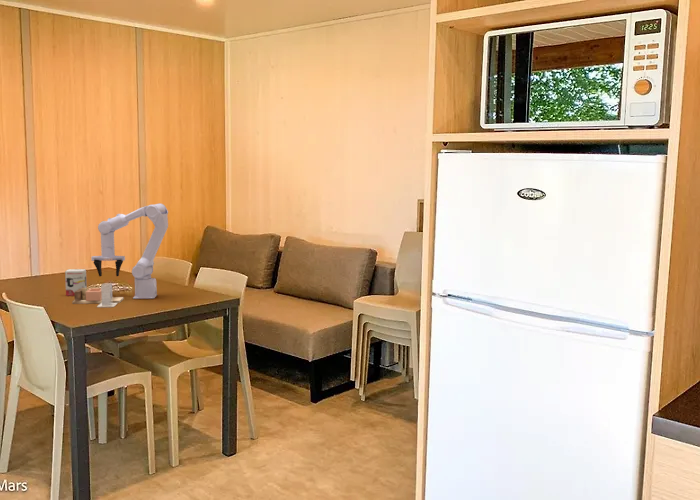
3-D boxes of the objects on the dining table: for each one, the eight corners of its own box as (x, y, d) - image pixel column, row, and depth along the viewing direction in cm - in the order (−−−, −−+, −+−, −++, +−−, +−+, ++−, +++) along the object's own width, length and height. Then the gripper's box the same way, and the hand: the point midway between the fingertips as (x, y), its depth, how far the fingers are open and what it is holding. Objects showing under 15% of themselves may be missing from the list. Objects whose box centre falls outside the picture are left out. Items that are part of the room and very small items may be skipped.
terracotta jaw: (104, 296, 298) (104, 288, 297) (100, 300, 290) (99, 291, 290) (90, 297, 297) (90, 288, 297) (85, 300, 289) (85, 291, 289)
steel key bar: (112, 303, 288) (111, 283, 287) (110, 305, 284) (109, 284, 283) (104, 303, 287) (103, 283, 286) (102, 305, 284) (101, 285, 283)
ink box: (65, 296, 305) (64, 271, 303) (67, 294, 310) (66, 269, 308) (85, 295, 307) (84, 270, 305) (87, 293, 311) (86, 268, 310)
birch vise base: (123, 299, 299) (123, 286, 298) (119, 302, 291) (119, 289, 290) (77, 299, 297) (77, 286, 296) (72, 303, 289) (71, 290, 288)
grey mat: (117, 303, 290) (117, 302, 290) (113, 307, 283) (113, 306, 283) (101, 303, 289) (101, 303, 289) (96, 307, 282) (96, 306, 282)
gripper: (89, 248, 298) (90, 277, 300) (122, 247, 300) (123, 277, 302) (93, 246, 305) (94, 275, 307) (125, 246, 307) (126, 274, 309)
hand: (108, 276), depth 305 cm, fingers open, 7 cm apart
